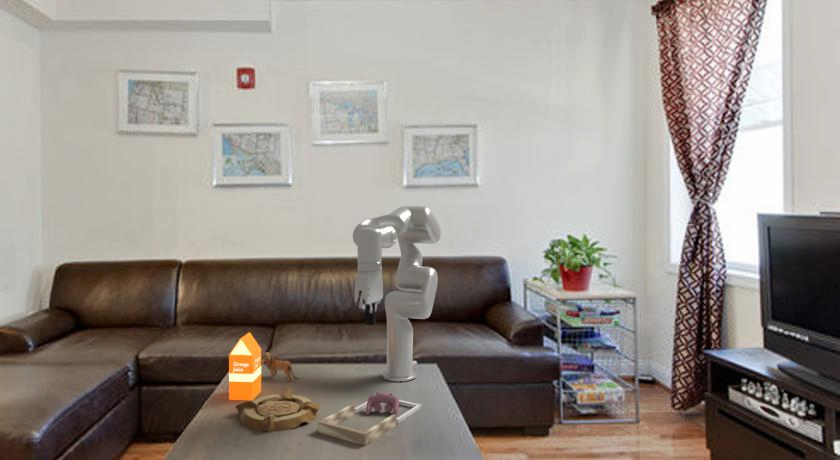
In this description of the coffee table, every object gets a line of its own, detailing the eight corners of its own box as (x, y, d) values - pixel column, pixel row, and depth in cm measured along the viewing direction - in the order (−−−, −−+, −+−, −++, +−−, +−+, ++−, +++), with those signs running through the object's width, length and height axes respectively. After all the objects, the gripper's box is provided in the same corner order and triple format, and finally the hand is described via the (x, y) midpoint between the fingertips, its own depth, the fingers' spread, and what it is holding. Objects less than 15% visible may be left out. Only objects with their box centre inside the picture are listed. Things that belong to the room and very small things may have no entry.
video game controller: (399, 417, 166) (400, 393, 169) (397, 416, 162) (398, 391, 165) (367, 416, 167) (369, 392, 170) (364, 414, 163) (366, 390, 166)
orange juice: (261, 390, 183) (261, 332, 182) (252, 400, 174) (252, 338, 173) (238, 390, 183) (238, 331, 182) (228, 399, 174) (228, 338, 173)
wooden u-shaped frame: (351, 413, 164) (351, 404, 164) (396, 425, 156) (396, 415, 156) (317, 432, 151) (318, 421, 151) (365, 445, 143) (365, 434, 143)
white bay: (378, 398, 177) (378, 395, 177) (421, 408, 169) (421, 404, 169) (353, 412, 165) (353, 408, 165) (398, 423, 157) (398, 419, 157)
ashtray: (234, 406, 169) (234, 391, 169) (311, 398, 178) (311, 383, 177) (237, 438, 147) (236, 420, 147) (324, 427, 155) (324, 409, 155)
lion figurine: (258, 378, 196) (258, 353, 195) (266, 374, 201) (266, 349, 200) (294, 383, 191) (294, 357, 191) (302, 378, 196) (302, 353, 196)
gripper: (372, 262, 179) (373, 317, 180) (345, 269, 166) (346, 328, 167) (392, 264, 175) (392, 320, 177) (366, 271, 162) (367, 331, 164)
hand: (370, 324), depth 172 cm, fingers closed
